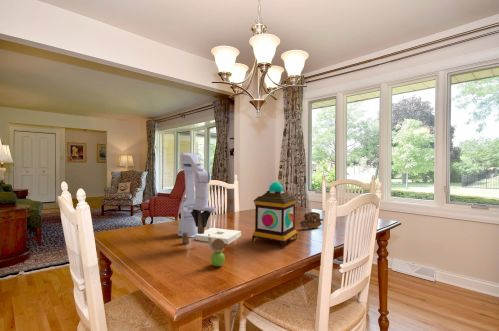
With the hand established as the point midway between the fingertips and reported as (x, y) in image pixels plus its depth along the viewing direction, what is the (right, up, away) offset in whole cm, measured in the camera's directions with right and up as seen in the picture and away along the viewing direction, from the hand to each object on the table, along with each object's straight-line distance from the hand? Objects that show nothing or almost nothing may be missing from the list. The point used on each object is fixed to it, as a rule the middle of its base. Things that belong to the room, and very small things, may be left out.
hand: (201, 226), depth 121 cm
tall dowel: (0, -3, 0) cm, 3 cm away
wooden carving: (+60, -10, +37) cm, 72 cm away
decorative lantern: (+35, -10, +12) cm, 38 cm away
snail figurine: (+10, -10, -22) cm, 26 cm away
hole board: (+7, -9, +15) cm, 19 cm away
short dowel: (-8, -9, +5) cm, 13 cm away
